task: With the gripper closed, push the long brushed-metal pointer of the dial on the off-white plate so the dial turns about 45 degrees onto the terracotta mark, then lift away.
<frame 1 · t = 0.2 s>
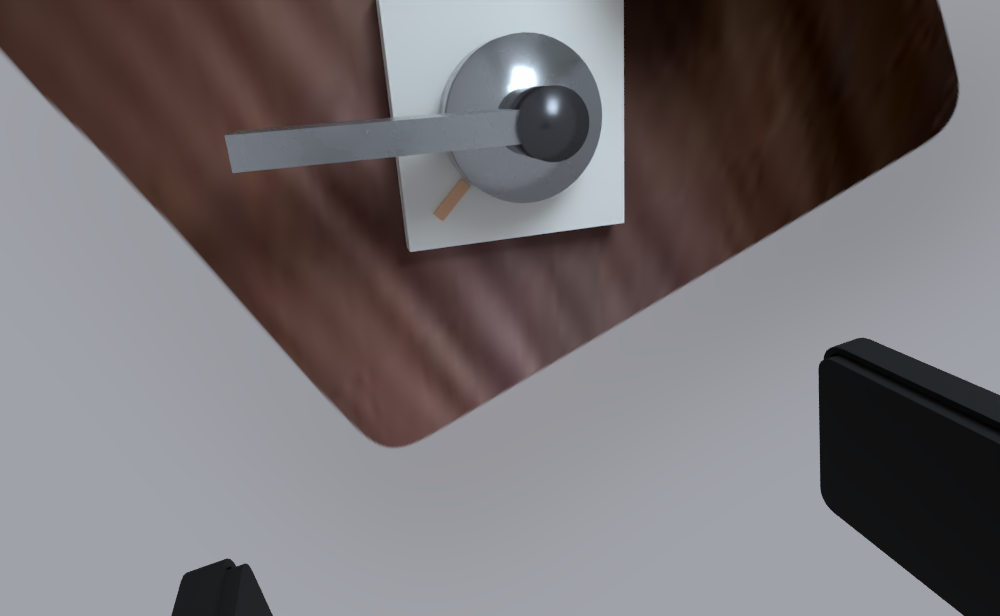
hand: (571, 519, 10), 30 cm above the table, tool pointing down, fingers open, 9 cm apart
dial: (437, 131, 32), point 5 cm above the table, hinge at 0.0°
dial plate: (507, 119, 38), on the table
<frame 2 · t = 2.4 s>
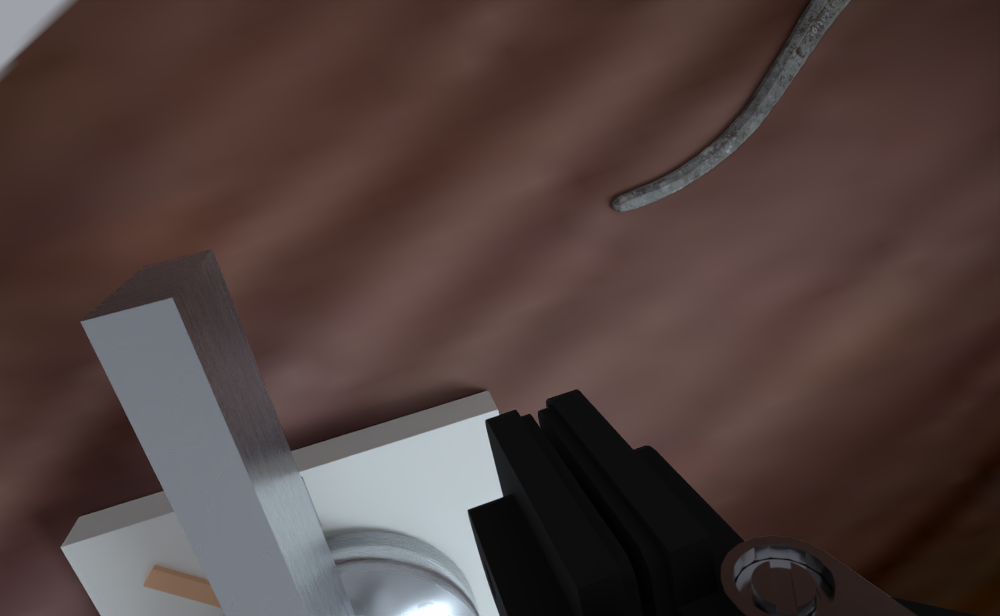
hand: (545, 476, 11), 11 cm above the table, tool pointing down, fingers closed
dial: (303, 595, 17), point 5 cm above the table, hinge at 0.0°
dial plate: (352, 600, 24), on the table
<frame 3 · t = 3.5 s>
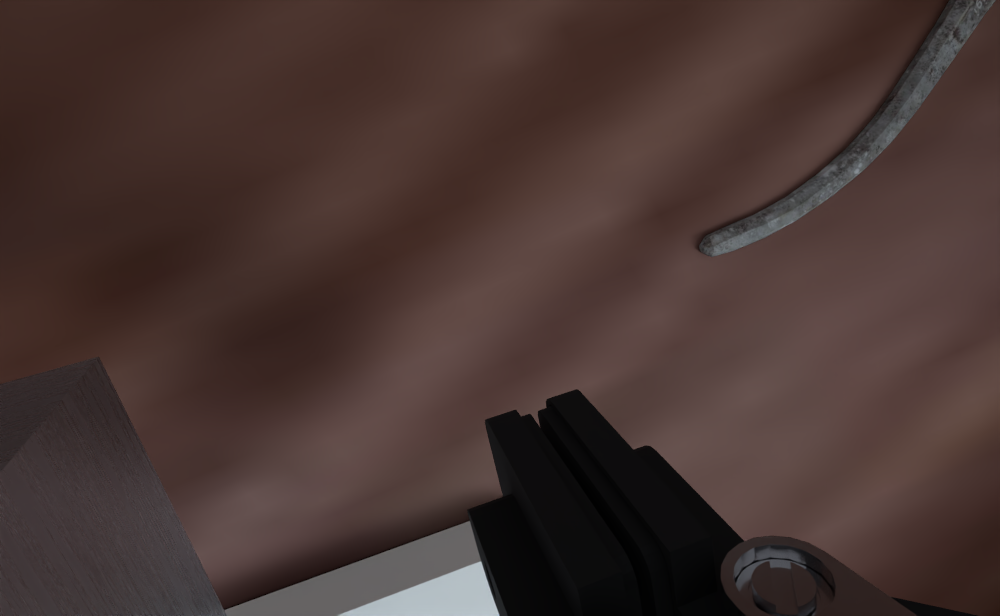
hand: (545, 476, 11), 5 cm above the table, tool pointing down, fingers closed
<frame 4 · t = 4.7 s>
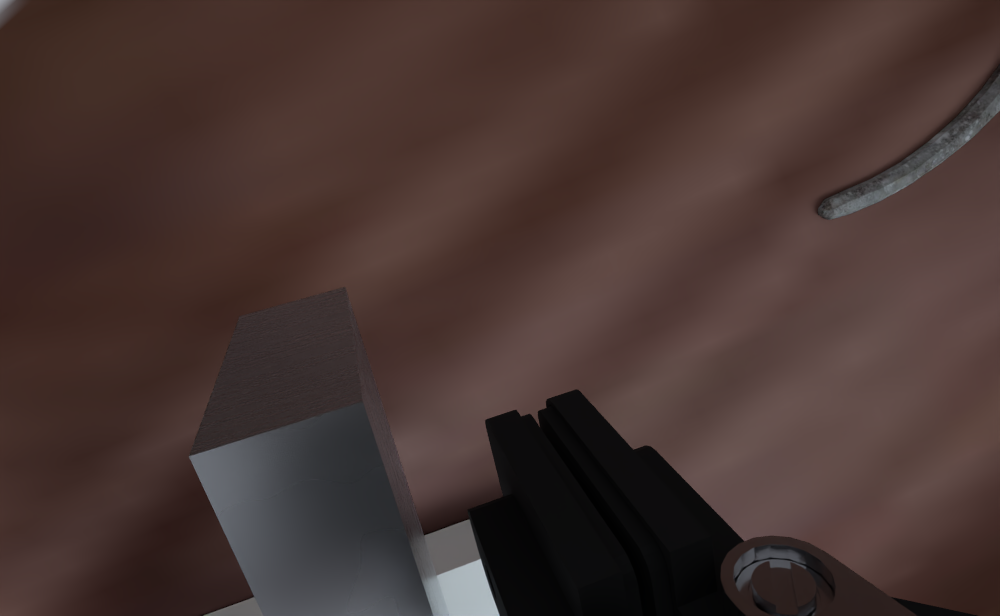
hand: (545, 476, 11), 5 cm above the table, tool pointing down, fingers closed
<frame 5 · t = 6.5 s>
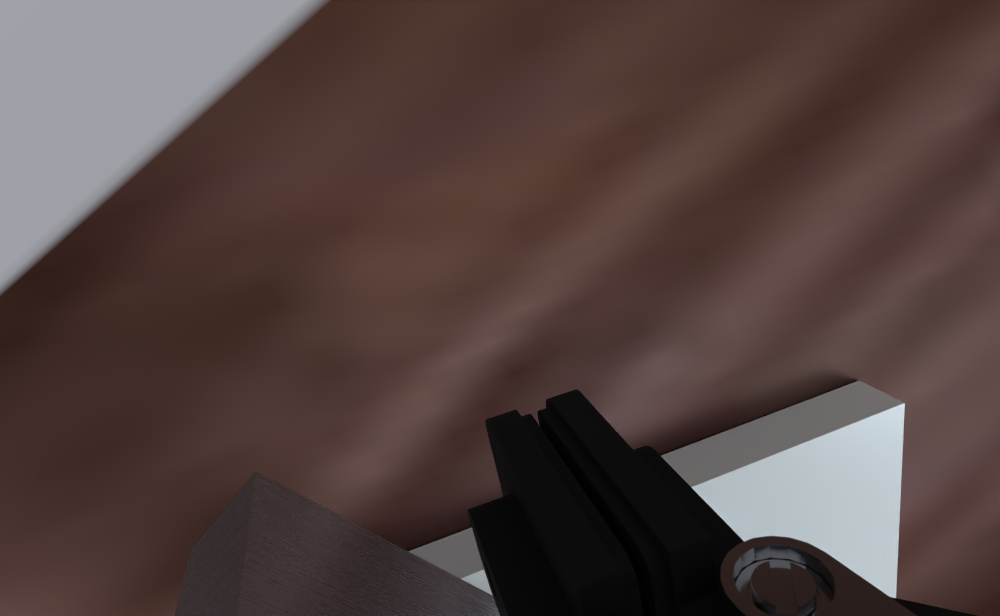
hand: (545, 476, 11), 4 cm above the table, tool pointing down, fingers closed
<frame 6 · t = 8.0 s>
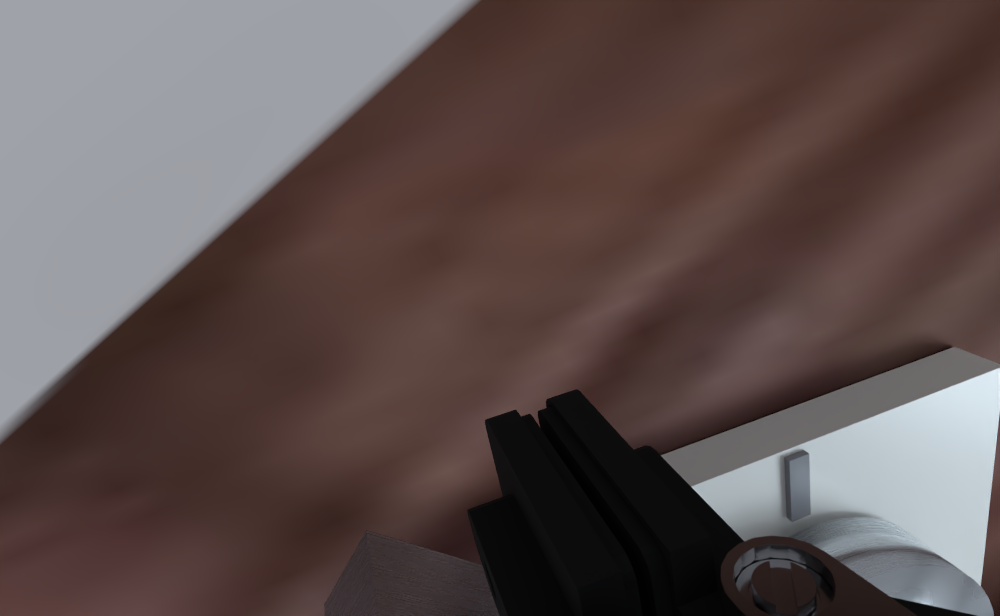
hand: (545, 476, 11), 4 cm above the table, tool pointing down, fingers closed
dial plate: (767, 602, 20), on the table
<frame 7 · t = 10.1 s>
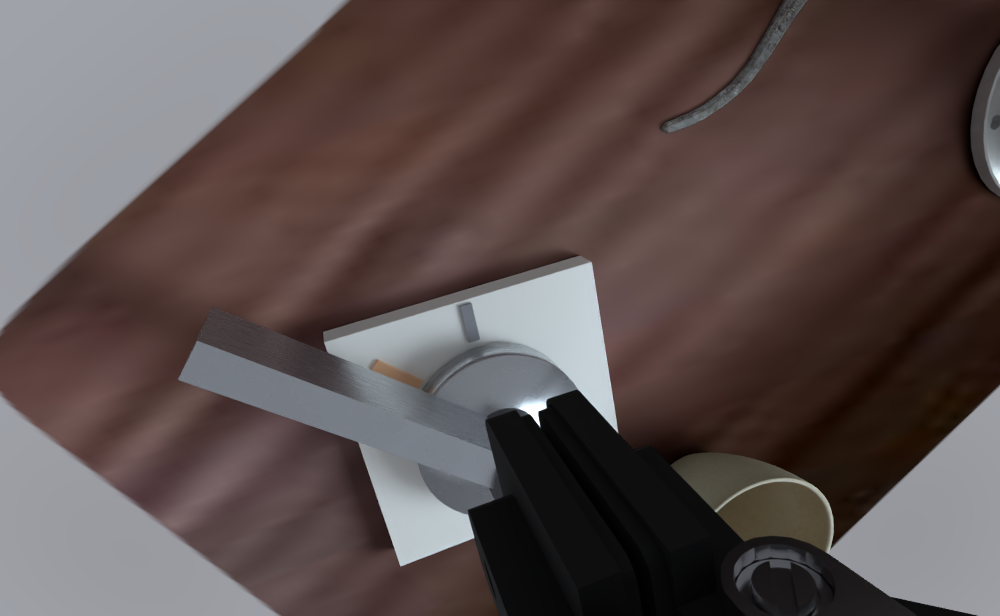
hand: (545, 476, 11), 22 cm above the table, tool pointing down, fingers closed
dial: (418, 416, 28), point 5 cm above the table, hinge at 47.5°
dial plate: (485, 406, 35), on the table
flower pot: (686, 484, 41), on the table
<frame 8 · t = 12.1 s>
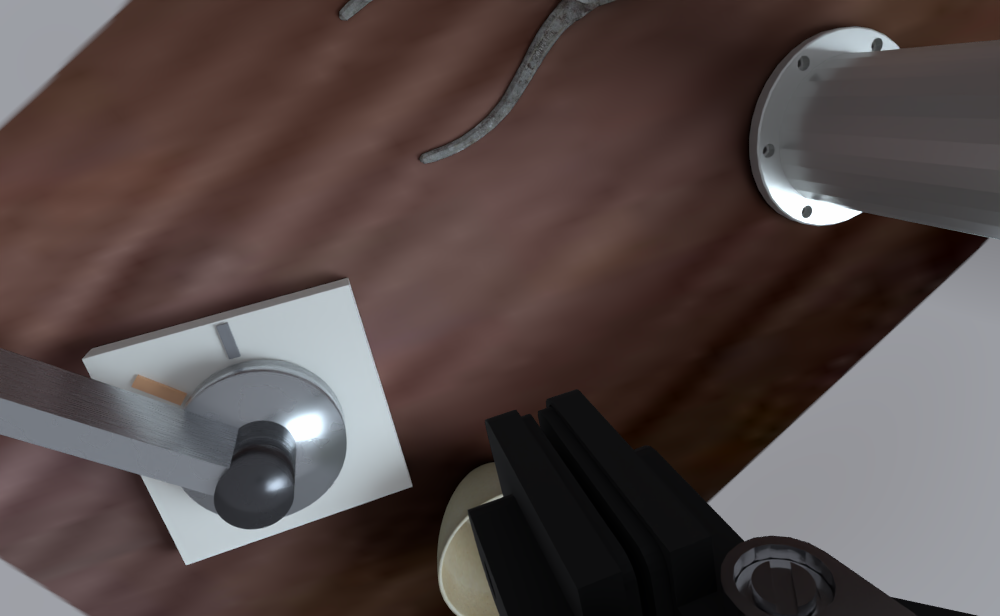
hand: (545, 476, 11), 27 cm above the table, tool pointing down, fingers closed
dial: (156, 428, 31), point 5 cm above the table, hinge at 47.5°
dial plate: (266, 417, 37), on the table
flower pot: (489, 491, 44), on the table
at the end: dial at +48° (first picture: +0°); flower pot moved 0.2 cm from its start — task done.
